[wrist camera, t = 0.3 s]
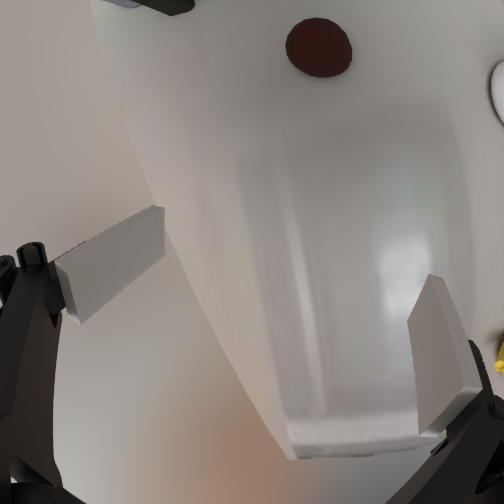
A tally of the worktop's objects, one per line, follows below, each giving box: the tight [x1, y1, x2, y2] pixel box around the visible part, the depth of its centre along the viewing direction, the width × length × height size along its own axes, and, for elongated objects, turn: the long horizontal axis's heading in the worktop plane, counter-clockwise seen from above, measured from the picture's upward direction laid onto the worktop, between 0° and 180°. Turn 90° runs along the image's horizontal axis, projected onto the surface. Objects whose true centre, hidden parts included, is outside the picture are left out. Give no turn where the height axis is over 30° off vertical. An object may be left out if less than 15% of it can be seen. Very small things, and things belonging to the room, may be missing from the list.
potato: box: [286, 18, 352, 77], centre depth 28 cm, size 8×8×8 cm
